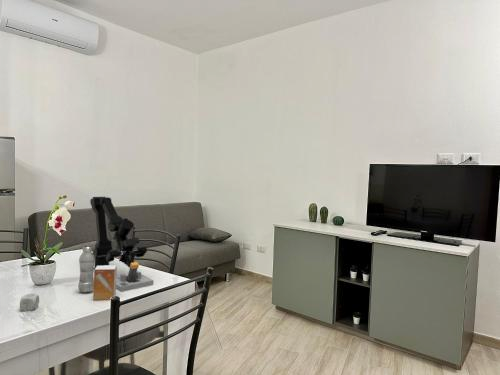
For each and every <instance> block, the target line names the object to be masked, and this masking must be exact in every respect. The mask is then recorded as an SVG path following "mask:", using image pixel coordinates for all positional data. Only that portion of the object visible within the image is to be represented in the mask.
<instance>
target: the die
mask: <svg viewBox="0 0 500 375" xmlns="http://www.w3.org/2000/svg"><path fill="white" fill-rule="evenodd" d="M39 303H40V296H39V295H38V294H37V293H27V294H24V295H23V296H21V297H20V301H19V309H20V310H21V311H23V312H30V310H31V311H35V310H37V309H38V307H39ZM34 309H35V310H34Z"/></svg>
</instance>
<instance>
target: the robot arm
mask: <svg viewBox="0 0 500 375" xmlns="http://www.w3.org/2000/svg"><path fill="white" fill-rule="evenodd" d="M89 201H90V202H89V203H90V206H91V210H92V211H93V212H94V213H95V221H96V222H95V223H96V233H97V234H96V236H97V241H96V242H95V244H94V249H93V250H92V253H93V255H94V256H95V262H94V269H95V268H96V267H97V266H104V265H110V262H114V260H115V258H119V260H118V261H119V262H121V263H123V264H124V265H125V266H126V267H128V268H129V269H130V264H131V263H134V262H135V257H136V258H142V257H144V256H145V254H147V252H148V248H147V246H145V245H144V246H143V245H142V246H137V245H138V244H140V239H139V236H136V237H133V238H128V236H129V235H130V233H131V232H132V230H133V229H134V226H135V224H134V222H133V221H131V220H129V219H128V217H127V218H126V217H125V218H123V217H121V216H120V215H118V213H117V211H116V208H115V206H114V205H113V203H112V198H111V197H109V196H108V197H107V196H92V198H91V199H90V200H89ZM106 217H107V219H108V223H107V221H106V220H107V219H106ZM107 226H108V230H107ZM107 231H110V232H111V233H113V232H114V234H113V237H112V239H113V240H115V242H116V249H113V246H112V241H111V240H109V239H108V232H107ZM135 246H137V248H136V249H135Z"/></svg>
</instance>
